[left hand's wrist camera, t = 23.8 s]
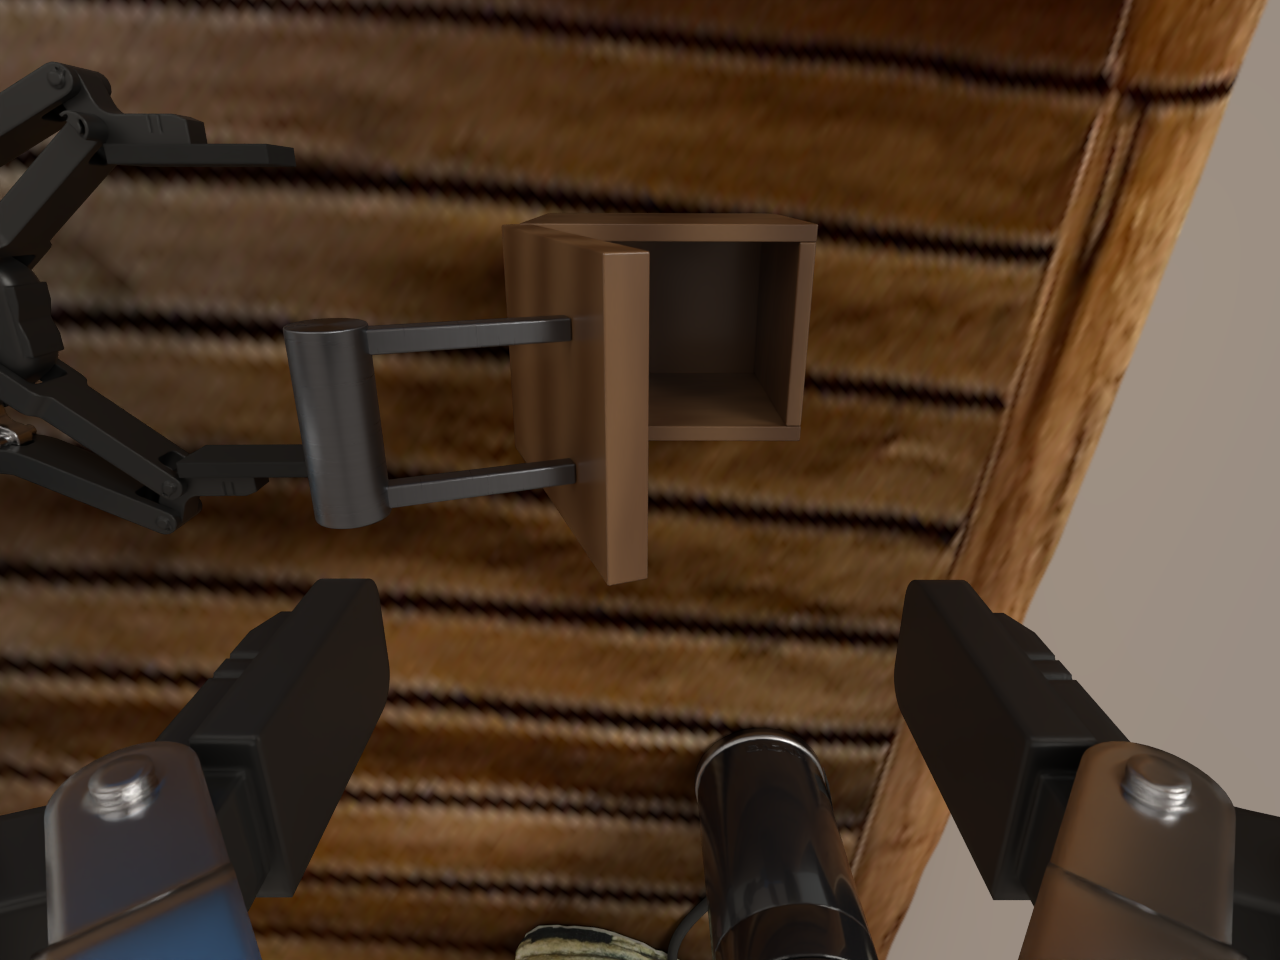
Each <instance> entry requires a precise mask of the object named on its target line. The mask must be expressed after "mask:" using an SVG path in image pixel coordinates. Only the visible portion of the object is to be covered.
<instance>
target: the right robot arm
mask: <svg viewBox="0 0 1280 960" xmlns="http://www.w3.org/2000/svg"><path fill="white" fill-rule="evenodd" d="M110 95H111V85H110V83H109V81H108V80H107V78H106V77H105V76H104V75H102V74H100V73H99V72H96V71H91V70H87V69H83V68H79V67H75V66H71V65H66V64H62V63H58V62H49V63H46V64H44V65H43V66H41V67H40V68H38V69H37V70H35V71H33V72H32V73H30V74H29V75H27V76H26V77H24V78H22V79H21V80H19V81H18V82H16V83H15V84H13V85H11V86H10V87H8V88H7V89H5V90H4V91H2V92H1V93H0V167H1V166H3V165H5V164H6V163H8V162H9V161H11V160H13V159H14V158H16V157H17V156H19V155H21V154H22V153H24V152H26V151H27V150H29V149H30V148H32V147H34V146H35V145H37V144H38V143H40V142H42V141H43V140H45V139H46V138H48V137H50V136H51V135H53V134H55V133H56V132H58V131H59V130H60V131H59V132H58V134H57V135H56V136H55V137H54V138H53V140H52V141H51V142H50V143H49V144H48V145H47V147H46V148H45V149H44V150H43V151H42V153H41V154H40V155H39V156H38V157H37V158H36V160H35V161H34V162H33V163H32V164H31V166H30V167H29V168H28V169H27V170H26V171H25V173H24V174H23V175H22V176H21V177H20V179H19V180H18V181H17V182H16V183H15V184H14V186H13V187H12V188H11V189H10V190H9V192H8V193H7V194H6V195H5V196H4V197H3V199H2V200H1V201H0V473H1V474H11V475H15V476H18V477H20V478H23V479H25V480H28V481H30V482H33V483H35V484H38V485H40V486H43V487H45V488H48V489H50V490H53V491H55V492H58V493H60V494H63V495H65V496H68V497H70V498H73V499H75V500H78V501H81V502H83V503H86V504H88V505H91V506H93V507H96V508H98V509H101V510H103V511H106V512H108V513H111V514H113V515H116V516H118V517H121V518H123V519H126V520H128V521H131V522H133V523H136V524H138V525H141V526H143V527H146V528H148V529H151V530H153V531H156V532H158V533H162V534H170V533H172V532H174V531H175V530H176V529H178V528H179V527H181V526H182V525H183V524H185V523H186V522H187V521H189V520H190V519H191V518H193V517H194V516H195V515H197V514H198V513H199V512H200V511H201V509H202V503H201V500H200V499H199V497H200V496H225V495H227V496H234V495H235V496H247V495H249V494H252V493H254V492H256V491H258V490H259V489H260V488H261V487H263V486H264V485H265V484H266V483H268V482H269V478H268V477H308V473H307V467H306V461H305V455H304V450H303V445H205V446H204V447H202V448H200V449H199V450H197V451H195V452H194V453H192V454H189V453H187V452H186V451H184V450H183V449H181V448H180V447H178V446H177V445H176V444H174V443H173V442H171V441H170V440H168V439H167V438H165V437H164V436H162V435H161V434H159V433H158V432H156V431H155V430H153V429H152V428H150V427H149V426H147V425H146V424H144V423H143V422H141V421H140V420H138V419H137V418H135V417H134V416H132V415H131V414H129V413H128V412H126V411H125V410H123V409H122V408H120V407H119V406H117V405H116V404H114V403H113V402H111V401H110V400H108V399H107V398H105V397H104V396H102V395H101V394H99V393H98V392H97V391H95V390H94V389H92V388H91V387H89V386H88V385H87V379H86V378H85V377H84V376H83V375H82V374H80V373H79V372H77V371H76V370H74V369H73V368H71V367H70V366H68V365H67V364H65V363H64V362H62V361H61V360H59V359H58V351H60V350H64V346H63V343H62V339H61V335H60V332H59V330H58V329H57V327H56V325H55V323H54V321H53V319H52V317H51V298H50V294H49V290H48V287H47V283H46V282H40V281H39V279H38V278H37V276H36V275H35V274H34V273H33V271H32V269H33V267H34V266H35V265H36V264H37V263H38V262H39V261H40V259H41V258H42V257H43V256H44V255H45V254H46V253H47V252H48V250H49V249H50V248H51V246H52V244H51V243H50V240H51V239H52V238H53V236H54V235H55V234H56V233H57V232H58V231H59V230H60V229H61V227H62V226H63V225H64V224H65V223H66V222H67V221H68V219H69V218H70V217H71V216H72V215H73V214H74V213H75V211H76V210H77V209H78V208H79V207H80V206H81V205H82V204H83V202H84V201H85V200H86V199H87V198H88V197H89V196H90V194H91V193H92V192H93V191H94V190H95V189H96V188H97V187H98V185H99V184H100V183H101V182H102V181H103V180H104V179H105V177H106V176H107V175H108V174H109V173H110V172H111V171H112V169H113V168H114V167H115V166H116V165H132V166H147V167H296V162H295V156H294V149H293V148H290V147H283V146H276V145H270V144H207V139H206V133H205V128H204V122H201V121H199V120H196V119H194V118H191V117H187V116H181V115H176V114H124V113H122V112H121V111H120V110H119V109H118V108H117V107H116V105H115V104H114V102H113V100H112V98H111V97H110ZM38 380H41V381H42V383H39V384H35V383H36V382H37V381H38ZM8 405H9V406H11V407H12V408H14V409H15V410H17V411H18V412H20V413H22V414H24V415H28V416H35V417H39V418H42V419H43V420H45V421H47V422H48V423H50V424H51V425H53V426H54V427H56V428H57V429H59V430H60V431H62V432H63V433H65V434H67V435H68V436H70V437H71V438H73V439H74V440H76V441H77V442H79V443H80V444H82V445H84V446H85V447H87V448H88V449H90V450H91V451H93V452H94V453H96V454H97V455H96V454H94V453H91V452H89V451H87V450H84V449H82V448H79V447H77V446H74V445H72V444H69V443H67V442H65V441H62V440H59V439H56V438H53V437H49V436H44V435H38V434H36V432H37V431H36V428H35V427H34V426H32V425H29V424H27V425H24V424H21V423H18V422H16V421H14V420H12V419H11V418H10V417H9V416H8V415H7V413H6V411H5V408H4V407H6V406H8Z"/></svg>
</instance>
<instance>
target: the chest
mask: <svg viewBox="0 0 1280 960" xmlns="http://www.w3.org/2000/svg"><path fill="white" fill-rule="evenodd" d="M521 224H533V225H537V226H541V227H546V228H550V229H554V230H559V231H563V232H567V233H572V234H576V235H580V236H585V237H589V238H593V239H598V240H602V241H607V242H611V243H615V244H620V245H624V246H628V247H633V248H637V249H641V250H646V251H649V253H650V264H649V410H648V441H799V440H800V429H801V427H800V425H801V415H802V404H803V392H804V380H805V368H806V356H807V345H808V333H809V321H810V309H811V297H812V286H813V274H814V262H815V250H816V243H815V242H816V241H817V229H818V225H817V224H814V223H810V222H806V221H802V220H798V219H794V218H790V217H786V216H782V215H777V214H770V213H548V214H545V215H543V216H540V217H537V218H534V219H532V220H529V221H526V222H523V223H521Z"/></svg>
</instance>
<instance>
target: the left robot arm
mask: <svg viewBox="0 0 1280 960" xmlns="http://www.w3.org/2000/svg"><path fill="white" fill-rule="evenodd" d="M389 680H390V670H389V661H388V654H387V647H386V640H385V633H384V627H383V620H382V613H381V606H380V599H379V593H378V589H377V586H376V584H375V582H374V581H373V580H372V579H319V580H318V581H317V582H316V583H315V584H314V585H313V586H312V587H311V589H310V590H309V591H308V592H307V594H306V595H305V596H304V597H303V598H302V600H301V601H300V602H299V603H298V605H297V606H296V607H295V608H294V610H293V611H292V612H280V613H278V614H277V615H275V616H273V617H272V618H270V619H269V620H267V621H265V622H264V623H262V624H261V625H259V626H257V627H256V628H254V629H253V630H251V631H250V632H249V633H248V634H247V635H246V636H245V638H244V639H243V640H242V641H241V642H240V643H239V645H238V646H237V647H236V648H235V649H234V650H233V651H232V653H231V654H230V659H226V660H225V661H224V662H223V663H222V664H221V665H220V666H219V668H218V669H217V670H216V671H215V672H214V677H213V678H209V679H208V680H207V681H206V683H205V684H204V685H203V686H202V687H201V688H200V690H199V691H198V692H197V693H196V694H195V695H194V697H193V698H192V699H191V700H190V701H189V702H188V703H187V705H186V706H185V707H184V708H183V709H182V710H181V712H180V713H179V714H178V715H177V716H176V717H175V718H174V720H173V721H172V722H171V723H170V724H169V725H168V727H167V728H166V729H165V730H164V731H163V732H162V733H161V735H160V736H159V737H158V738H157V739H156V740H155V742H148V743H142V744H138V745H133V746H130V747H126V748H123V749H120V750H117V751H115V752H112V753H110V754H107V755H105V756H103V757H101V758H99V759H97V760H95V761H93V762H92V763H90V764H88V765H86V766H85V767H83V768H82V769H80V770H79V771H77V772H76V773H75V774H73V775H72V776H71V777H70V778H68V779H67V780H66V781H65V782H64V783H63V784H62V785H61V786H60V787H59V788H58V789H57V790H56V791H55V792H54V794H53V795H52V797H51V798H50V800H49V802H48V804H47V806H42V807H38V808H33V809H29V810H24V811H20V812H15V813H11V814H6V815H2V816H0V960H262V958H261V955H260V952H259V949H258V945H257V942H256V939H255V936H254V932H253V929H252V926H251V922H250V919H249V916H248V913H247V912H248V910H249V909H250V907H251V905H252V903H253V901H254V899H255V897H293V895H294V893H295V891H296V888H297V886H298V884H299V882H300V880H301V878H302V876H303V874H304V872H305V870H306V868H307V866H308V864H309V862H310V860H311V858H312V855H313V853H314V851H315V849H316V847H317V845H318V843H319V841H320V839H321V837H322V835H323V833H324V831H325V829H326V827H327V825H328V823H329V820H330V818H331V816H332V814H333V812H334V810H335V808H336V806H337V804H338V802H339V800H340V798H341V796H342V794H343V792H344V790H345V788H346V785H347V783H348V781H349V779H350V777H351V775H352V773H353V771H354V769H355V767H356V765H357V763H358V761H359V759H360V757H361V755H362V752H363V750H364V748H365V746H366V744H367V742H368V740H369V738H370V736H371V734H372V732H373V730H374V728H375V726H376V724H377V722H378V720H379V717H380V715H381V713H382V711H383V709H384V707H385V704H386V700H387V696H388V690H389ZM894 684H895V693H896V698H897V702H898V705H899V708H900V711H901V713H902V715H903V717H904V719H905V721H906V723H907V725H908V727H909V729H910V731H911V733H912V735H913V737H914V739H915V741H916V744H917V746H918V748H919V750H920V752H921V754H922V756H923V758H924V760H925V762H926V764H927V766H928V768H929V770H930V772H931V774H932V776H933V778H934V780H935V782H936V784H937V786H938V788H939V790H940V792H941V794H942V796H943V798H944V800H945V803H946V805H947V807H948V809H949V811H950V813H951V815H952V817H953V819H954V821H955V823H956V825H957V827H958V829H959V831H960V833H961V835H962V837H963V839H964V841H965V843H966V845H967V847H968V849H969V851H970V853H971V855H972V857H973V859H974V862H975V864H976V866H977V868H978V870H979V872H980V874H981V876H982V878H983V880H984V882H985V884H986V886H987V888H988V890H989V892H990V894H991V896H992V898H993V900H1031V902H1032V904H1033V906H1034V909H1033V913H1032V916H1031V919H1030V922H1029V926H1028V929H1027V932H1026V936H1025V939H1024V942H1023V945H1022V949H1021V952H1020V955H1019V958H1018V960H1280V817H1277V816H1273V815H1268V814H1264V813H1259V812H1255V811H1250V810H1246V809H1242V808H1238V807H1234V806H1233V804H1232V802H1231V800H1230V798H1229V797H1228V795H1227V794H1226V792H1225V791H1224V790H1223V789H1222V788H1221V787H1220V786H1219V785H1218V784H1217V783H1216V782H1215V781H1214V780H1213V779H1212V778H1210V777H1209V776H1208V775H1207V774H1205V773H1204V772H1203V771H1201V770H1200V769H1198V768H1197V767H1195V766H1194V765H1192V764H1190V763H1188V762H1187V761H1185V760H1183V759H1181V758H1179V757H1177V756H1175V755H1173V754H1170V753H1168V752H1165V751H1163V750H1160V749H1157V748H1154V747H1150V746H1147V745H1142V744H1138V743H1132V742H1130V741H1129V740H1128V739H1127V738H1126V737H1125V735H1124V734H1123V733H1122V732H1121V731H1120V730H1119V729H1118V727H1117V726H1116V725H1115V724H1114V723H1113V722H1112V720H1111V719H1110V718H1109V717H1108V716H1107V715H1106V714H1105V712H1104V711H1103V710H1102V709H1101V708H1100V707H1099V706H1098V704H1097V703H1096V702H1095V701H1094V700H1093V699H1092V698H1091V696H1090V695H1089V694H1088V693H1087V692H1086V691H1085V690H1084V689H1083V687H1082V686H1081V685H1080V684H1079V683H1078V682H1077V681H1076V680H1072V675H1071V674H1070V672H1069V671H1068V670H1067V669H1066V668H1065V667H1064V666H1063V664H1062V663H1061V662H1060V661H1059V660H1055V655H1054V654H1053V653H1052V652H1051V651H1050V650H1049V648H1048V647H1047V646H1046V645H1045V644H1044V643H1043V642H1042V640H1041V639H1040V638H1039V637H1038V636H1037V635H1036V634H1035V633H1034V632H1033V631H1031V630H1030V629H1028V628H1027V627H1025V626H1023V625H1022V624H1020V623H1019V622H1017V621H1015V620H1014V619H1012V618H1011V617H1009V616H1007V615H1006V614H1004V613H992V611H991V610H990V609H989V608H988V606H987V605H986V604H985V603H984V601H983V600H982V599H981V598H980V597H979V595H978V594H977V593H976V592H975V590H974V589H973V588H972V587H971V586H970V584H969V583H968V582H966V581H965V580H913V581H911V582H910V584H909V585H908V587H907V590H906V594H905V600H904V607H903V614H902V621H901V627H900V634H899V641H898V647H897V654H896V661H895V669H894ZM823 770H824V768H823ZM824 775H825V781H826V786H825V782H824V776H823V772H822V769H821V765H820V762H819V760H818V758H817V756H816V754H815V753H814V751H813V750H812V749H811V747H810V746H809V745H808V744H806V743H805V742H804V741H803V740H801V739H800V738H798V737H796V736H794V735H792V734H790V733H787V732H784V731H781V730H776V729H769V728H754V729H747V730H742V731H739V732H736V733H733V734H730V735H728V736H726V737H724V738H722V739H721V740H719V741H718V742H716V743H715V744H714V745H713V746H711V747H710V748H709V749H708V750H707V751H706V753H705V754H704V755H703V757H702V758H701V760H700V762H699V764H698V766H697V769H696V773H695V791H696V798H697V802H698V808H699V818H700V831H701V842H702V852H703V863H704V874H705V884H706V895H707V897H705V898H704V899H703V900H702V901H701V902H700V903H699V904H698V905H697V906H696V907H695V908H694V909H692V910H691V912H690V913H689V914H688V915H687V916H686V917H685V918H684V919H683V920H682V922H681V923H680V924H679V926H678V927H677V929H676V930H675V932H674V934H673V936H672V938H671V940H670V944H669V947H668V954H667V960H677V953H678V949H679V946H680V944H681V942H682V940H683V938H684V937H685V935H686V934H687V932H688V931H689V930H690V928H691V927H692V926H693V925H694V924H695V923H696V922H697V921H698V920H699V919H700V918H701V917H702V916H703V915H704V914H705V913H706V912H707V911H708V916H709V927H710V937H711V948H712V958H713V960H878V957H877V954H876V951H875V947H874V944H873V941H872V938H871V935H870V932H869V928H868V925H867V922H866V918H865V915H864V912H863V909H862V905H861V902H860V899H859V895H858V892H857V889H856V886H855V882H854V879H853V876H852V872H851V869H850V866H849V863H848V859H847V856H846V853H845V849H844V846H843V843H842V840H841V836H840V833H839V830H838V826H837V823H836V820H835V816H834V813H833V807H832V802H831V796H830V790H829V784H828V781H827V778H826V774H825V771H824ZM826 787H827V790H826ZM827 792H828V793H827Z"/></svg>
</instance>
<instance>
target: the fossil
mask: <svg viewBox="0 0 1280 960" xmlns="http://www.w3.org/2000/svg"><path fill="white" fill-rule="evenodd" d="M515 960H667V954H666V953H665V952H663V951H658V950H655V949H653V948H651V947H650V946H648V945H646V944H645V943H642V942H640V941H637V940H634V939H631V938H628V937H626V936H623V935H620V934H617V933H614V932H611V931H607V930H604V929H599V928H593V927H581V926H562V925H546V926H538V927H536V928H535V929H533V930H531V931H530V932H528V933H527V934H526V935H525V937H524V939H523V940H522V941H521V943H520V944H519V946H518V948H517V950H516V959H515ZM677 960H678V959H677Z"/></svg>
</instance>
